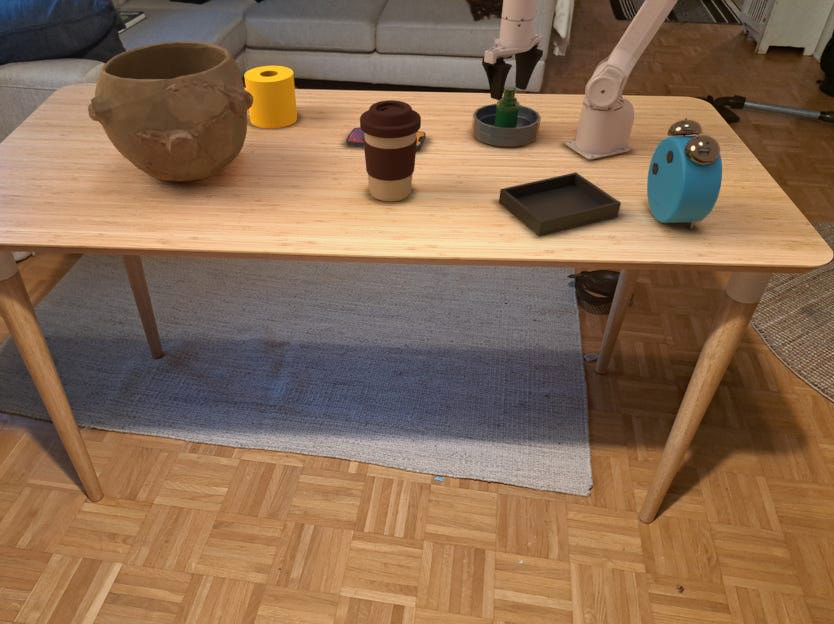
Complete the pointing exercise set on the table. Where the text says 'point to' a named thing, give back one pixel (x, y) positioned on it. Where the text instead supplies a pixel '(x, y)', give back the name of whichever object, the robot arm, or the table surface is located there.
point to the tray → (558, 203)
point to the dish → (505, 136)
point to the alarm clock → (684, 175)
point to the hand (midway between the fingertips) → (508, 93)
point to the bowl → (173, 108)
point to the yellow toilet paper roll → (271, 96)
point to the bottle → (507, 109)
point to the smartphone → (358, 136)
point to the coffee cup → (390, 148)
